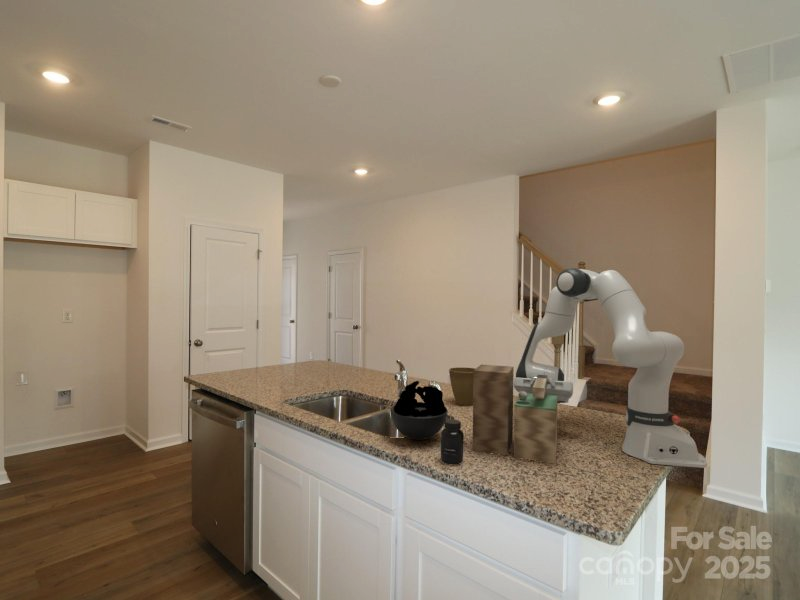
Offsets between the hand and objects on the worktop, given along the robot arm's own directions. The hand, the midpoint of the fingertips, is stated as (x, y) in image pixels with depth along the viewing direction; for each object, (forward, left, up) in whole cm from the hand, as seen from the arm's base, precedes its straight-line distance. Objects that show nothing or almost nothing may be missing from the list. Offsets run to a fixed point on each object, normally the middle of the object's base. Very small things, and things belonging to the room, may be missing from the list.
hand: (542, 379), depth 144 cm
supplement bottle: (+24, +30, -21) cm, 44 cm away
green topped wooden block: (+1, +11, -21) cm, 24 cm away
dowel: (0, +8, -2) cm, 9 cm away
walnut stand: (+14, +13, -21) cm, 29 cm away
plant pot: (+36, -38, -21) cm, 56 cm away
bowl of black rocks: (+40, +15, -21) cm, 48 cm away
